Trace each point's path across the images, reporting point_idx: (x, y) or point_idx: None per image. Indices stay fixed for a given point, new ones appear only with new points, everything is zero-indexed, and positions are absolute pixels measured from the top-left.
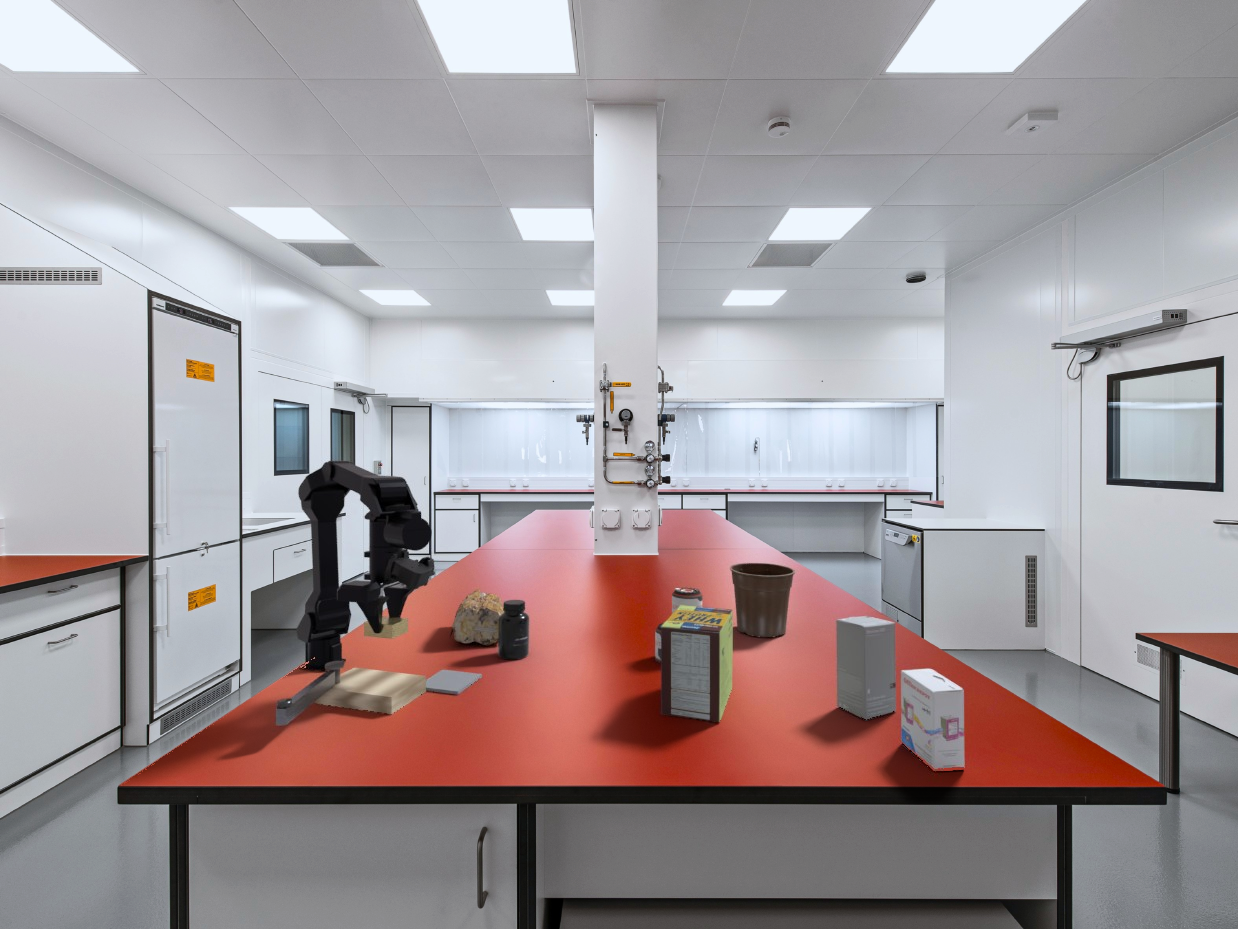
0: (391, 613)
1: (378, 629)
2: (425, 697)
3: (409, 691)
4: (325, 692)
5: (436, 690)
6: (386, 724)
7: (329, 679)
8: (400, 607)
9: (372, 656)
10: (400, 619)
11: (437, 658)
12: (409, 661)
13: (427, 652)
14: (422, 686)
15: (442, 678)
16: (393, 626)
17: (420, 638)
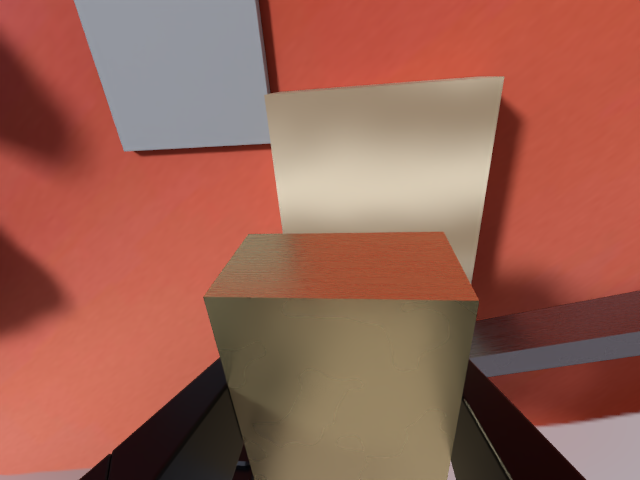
0: (226, 460)
1: (479, 373)
2: (317, 59)
3: (378, 85)
4: (505, 316)
5: (262, 50)
6: (561, 34)
7: (488, 343)
8: (158, 472)
9: (162, 382)
10: (266, 337)
11: (66, 236)
12: (131, 292)
13: (58, 287)
14: (294, 91)
15: (179, 95)
16: (452, 288)
17: (13, 355)
